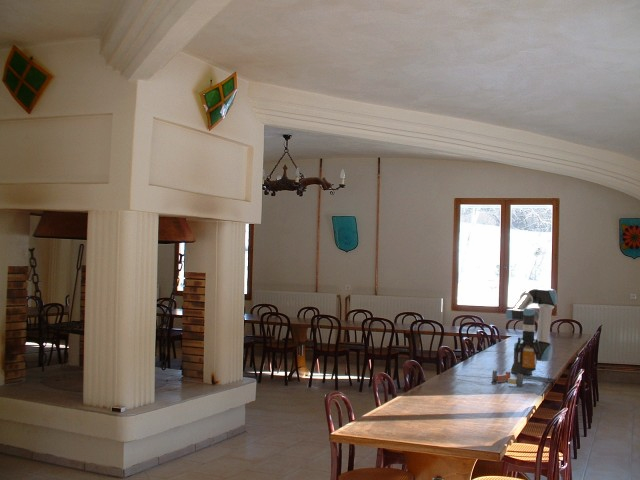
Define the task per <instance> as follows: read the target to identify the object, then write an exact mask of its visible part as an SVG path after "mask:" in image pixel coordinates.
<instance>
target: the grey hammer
mask: <svg viewBox="0 0 640 480" xmlns="http://www.w3.org/2000/svg"><path fill="white" fill-rule="evenodd" d="M523 380H524V375H523V374H516V378H511V377H510V378H508V381H507V383H508V384H511V385H515V387H519V388H522V387H523V382H524V381H523Z"/></svg>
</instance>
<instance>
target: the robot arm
mask: <svg viewBox="0 0 640 480" xmlns="http://www.w3.org/2000/svg"><path fill="white" fill-rule="evenodd" d="M558 298H559V297H558V294H557V291H556V289H555V288H554V289H553V288H539V287H533V288H529V289H527V290H525V291H524V292H523V293H521V295H520V298H519V300H518V301H517V302H516V303H515V305H514V306H513V307H512V308H507V309H506V311H505V318H506V319H507V320H511V321H522V337H518V338H517V342H515V343H514V345H513V363H512V366H511V369H510V372H511V373H510V374H514V375H517V374H523V376H530V375H533V371H525V370H523V369H522V364H520V363H519V362H520V350H521V347H520V343H522V342H528V345H531V346H532V348H533V349H534V352H535V353H536V354H535V361H534V364H536V365H537V364H538V362H550V360H551V358H552V357H553V353H554V351H553V349H554V347H553V346H552V345H551V342H550V331H551V321H552V311H553V309H554V308H555V306H557V305H558V301H559V300H558ZM531 304H536V305H537V307H538V308H539V312H538V311H537V310H536V309H535V308H531V307H529V305H531ZM537 321H538V322H537ZM535 322H537V323H538V324H537V331H536V338H535ZM533 342H534V343H536V344H535V345H534V344H532V343H533ZM523 345H525V344H523ZM523 345H522V346H523ZM523 349H524V347H523ZM522 353H523V350H522Z"/></svg>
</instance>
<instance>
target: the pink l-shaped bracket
mask: <svg viewBox="0 0 640 480" xmlns="http://www.w3.org/2000/svg"><path fill="white" fill-rule="evenodd" d="M511 374H512V373H511V371H505V374H497V383H500V382H508V378H510V379H511Z"/></svg>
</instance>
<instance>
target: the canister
mask: <svg viewBox="0 0 640 480" xmlns="http://www.w3.org/2000/svg"><path fill="white" fill-rule="evenodd" d="M521 342H522V343H520V347H521V350H520V362H519V363H520V364H522V369H523V370H525V371H532V372H535V371H536V370H537V369H536V367H537V364H534V361H535V354H536V353H535V352H534V349H533V348H532V346H531V345H528V342H523V341H521ZM523 344H525V345H523ZM532 344H534V345H535V344H536V343H534V342H533V343H532ZM522 345H523V346H522ZM523 347H524V349H523ZM522 350H523V353H522Z"/></svg>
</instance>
